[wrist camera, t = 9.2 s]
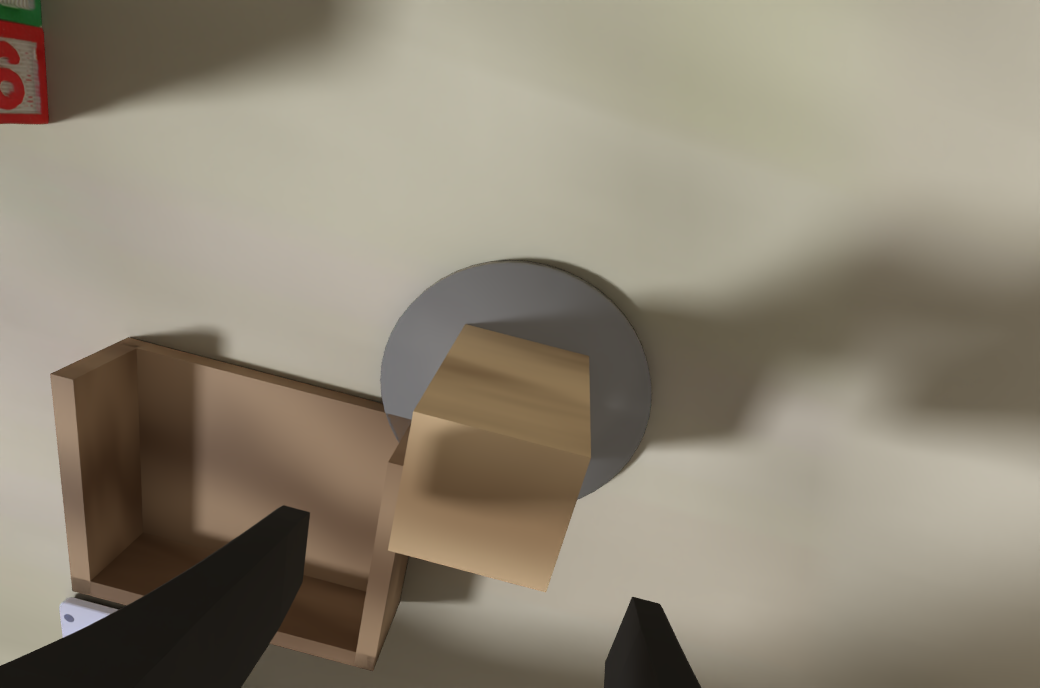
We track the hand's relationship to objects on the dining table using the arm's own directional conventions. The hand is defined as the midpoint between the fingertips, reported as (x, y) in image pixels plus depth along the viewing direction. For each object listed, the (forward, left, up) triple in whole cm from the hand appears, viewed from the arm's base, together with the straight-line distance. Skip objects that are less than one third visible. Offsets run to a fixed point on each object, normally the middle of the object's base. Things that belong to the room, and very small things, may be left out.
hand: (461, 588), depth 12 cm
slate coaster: (0, 0, -10) cm, 10 cm away
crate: (-7, +9, -10) cm, 15 cm away
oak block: (0, 0, -9) cm, 9 cm away
